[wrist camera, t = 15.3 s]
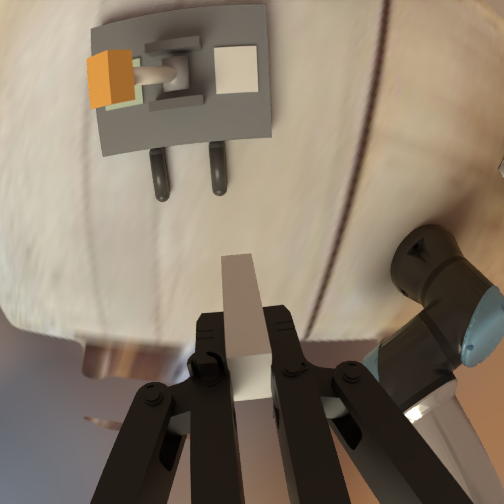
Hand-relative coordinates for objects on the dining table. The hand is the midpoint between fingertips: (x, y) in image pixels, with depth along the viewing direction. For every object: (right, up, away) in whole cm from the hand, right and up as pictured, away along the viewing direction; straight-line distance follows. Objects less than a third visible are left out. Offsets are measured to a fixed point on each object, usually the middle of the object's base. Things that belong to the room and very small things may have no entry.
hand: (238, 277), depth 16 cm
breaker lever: (-7, +22, +15) cm, 28 cm away
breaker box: (-8, +20, +20) cm, 30 cm away
